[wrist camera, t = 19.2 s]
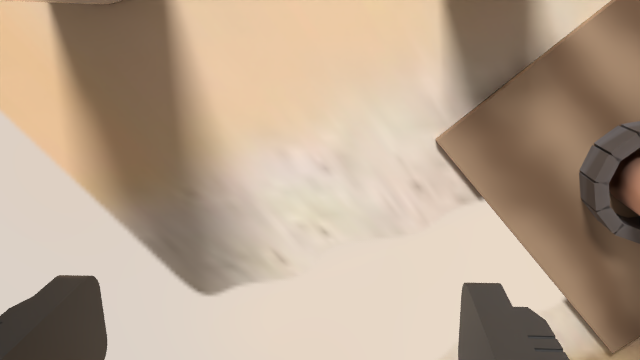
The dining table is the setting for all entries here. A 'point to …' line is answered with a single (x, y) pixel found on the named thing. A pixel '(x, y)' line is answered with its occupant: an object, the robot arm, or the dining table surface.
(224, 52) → the dining table surface
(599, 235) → the slanted top stand
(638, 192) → the peg
